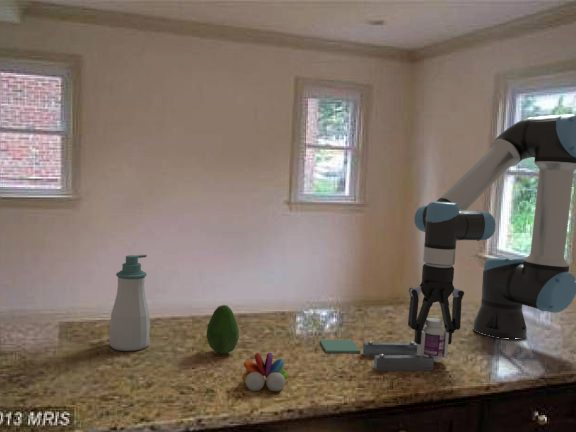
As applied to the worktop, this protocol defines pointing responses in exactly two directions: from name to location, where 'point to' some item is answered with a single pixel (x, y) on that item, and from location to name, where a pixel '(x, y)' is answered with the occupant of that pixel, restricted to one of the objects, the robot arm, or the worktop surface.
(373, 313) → the worktop surface
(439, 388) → the worktop surface
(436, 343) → the pill bottle
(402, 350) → the channel
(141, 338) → the soap bottle
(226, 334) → the avocado
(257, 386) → the rainbow fan toy
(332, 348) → the pad
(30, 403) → the worktop surface
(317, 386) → the worktop surface
